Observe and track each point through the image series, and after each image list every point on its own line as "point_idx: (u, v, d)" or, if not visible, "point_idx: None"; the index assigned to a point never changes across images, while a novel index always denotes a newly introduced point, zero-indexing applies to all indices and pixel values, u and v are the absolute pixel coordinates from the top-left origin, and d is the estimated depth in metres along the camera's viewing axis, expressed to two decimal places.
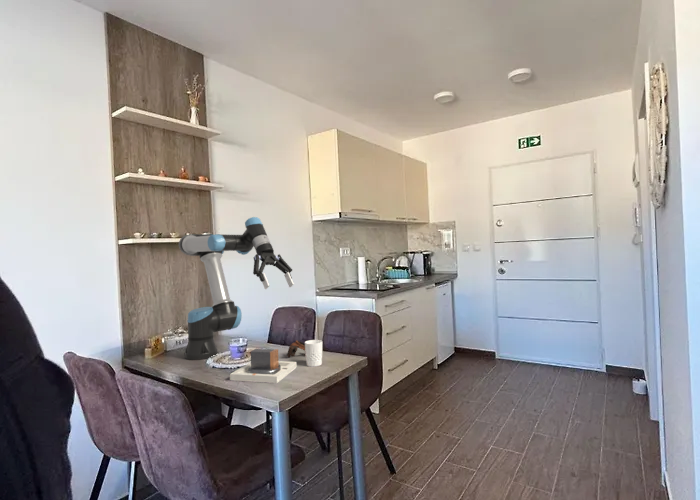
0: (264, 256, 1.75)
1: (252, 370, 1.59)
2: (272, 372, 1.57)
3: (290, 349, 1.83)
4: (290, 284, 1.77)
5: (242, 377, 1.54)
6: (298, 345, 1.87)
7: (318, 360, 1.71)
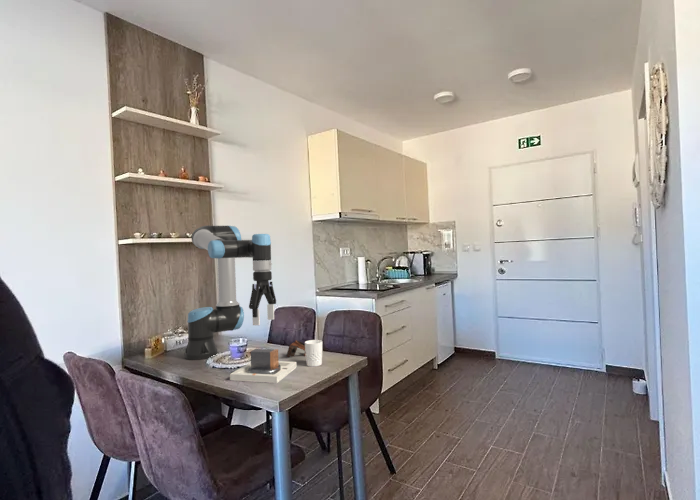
0: (262, 286, 1.60)
1: (252, 370, 1.59)
2: (272, 372, 1.57)
3: (290, 349, 1.84)
4: (270, 317, 1.69)
5: (242, 377, 1.54)
6: (298, 345, 1.87)
7: (318, 360, 1.71)
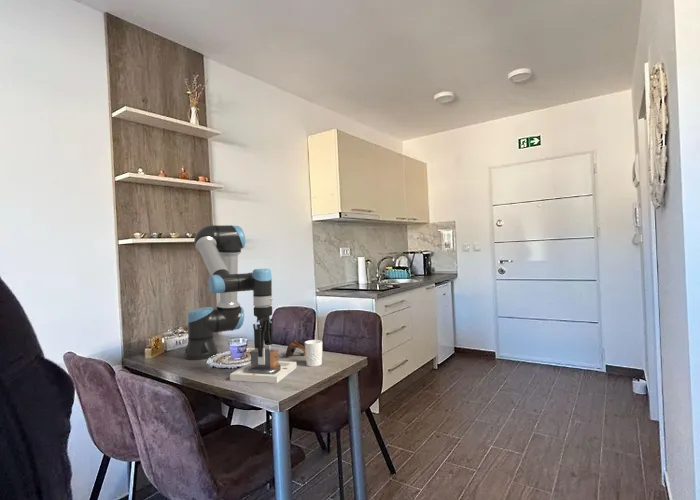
0: (263, 321, 1.60)
1: (252, 370, 1.59)
2: (272, 372, 1.57)
3: (288, 349, 1.84)
4: None
5: (242, 377, 1.54)
6: (296, 345, 1.88)
7: (318, 360, 1.71)
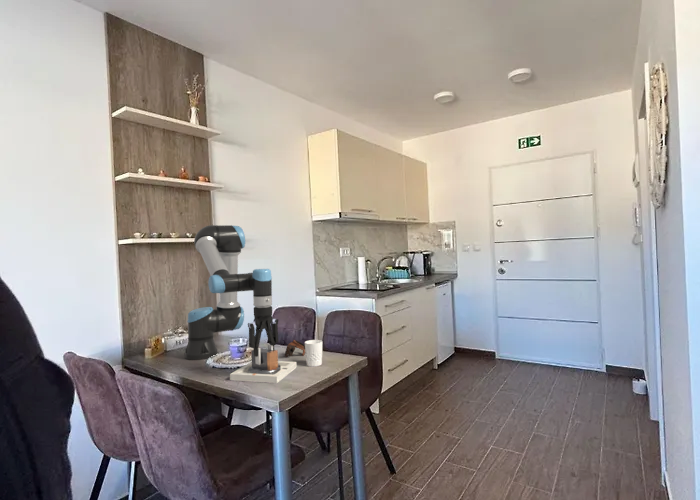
0: (259, 321, 1.60)
1: (251, 369, 1.60)
2: (267, 373, 1.56)
3: (288, 349, 1.84)
4: None
5: (242, 377, 1.54)
6: (296, 345, 1.88)
7: (318, 360, 1.71)
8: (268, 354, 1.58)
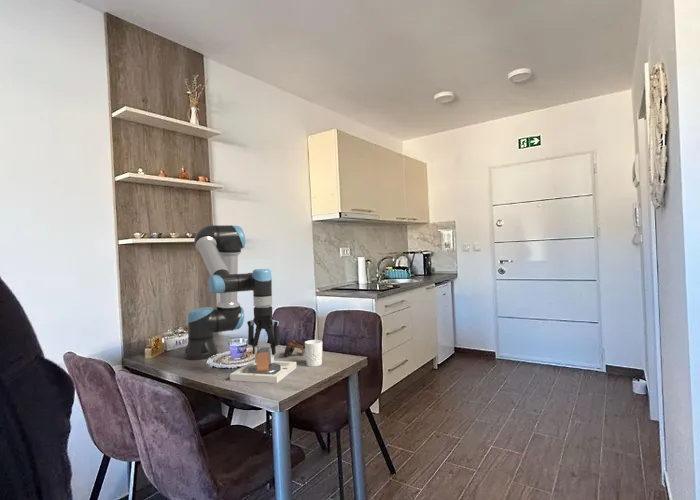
0: (256, 320, 1.62)
1: (254, 365, 1.65)
2: (253, 373, 1.57)
3: (287, 348, 1.85)
4: None
5: (242, 377, 1.54)
6: (295, 344, 1.88)
7: (318, 360, 1.71)
8: None
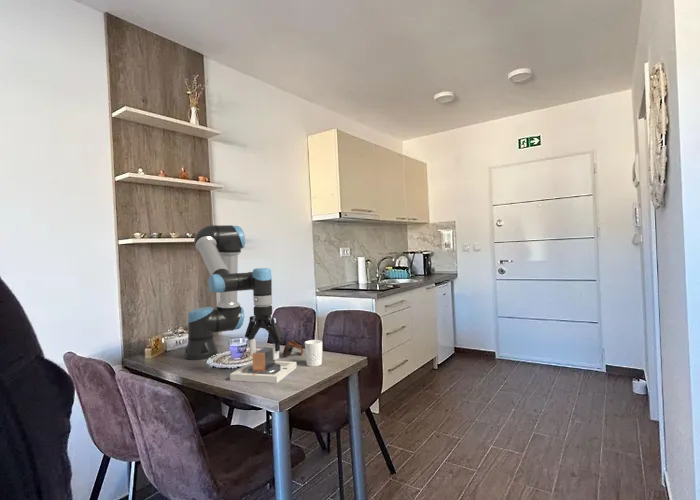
0: (256, 320, 1.63)
1: None
2: (250, 372, 1.58)
3: (286, 348, 1.85)
4: None
5: (242, 377, 1.54)
6: (294, 344, 1.89)
7: (318, 360, 1.71)
8: None
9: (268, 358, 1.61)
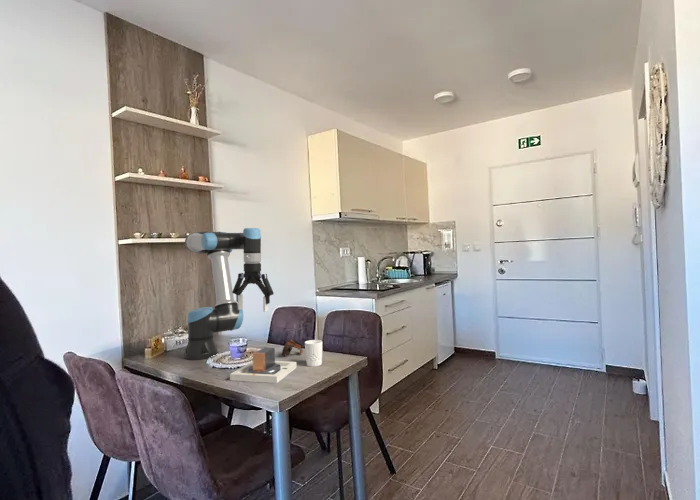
0: (246, 276, 1.75)
1: None
2: (250, 372, 1.58)
3: (285, 348, 1.86)
4: None
5: (242, 377, 1.54)
6: (293, 344, 1.89)
7: (318, 360, 1.71)
8: None
9: (268, 358, 1.61)
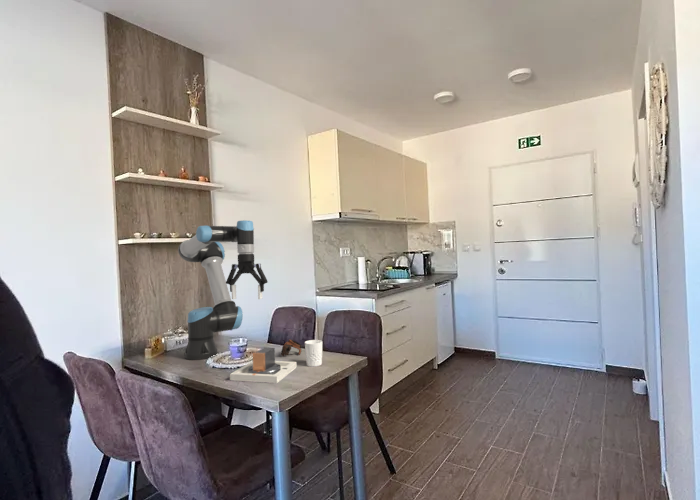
0: (240, 266, 1.84)
1: None
2: (250, 372, 1.58)
3: (284, 348, 1.86)
4: None
5: (242, 377, 1.54)
6: (292, 344, 1.90)
7: (318, 360, 1.71)
8: None
9: (268, 358, 1.61)
